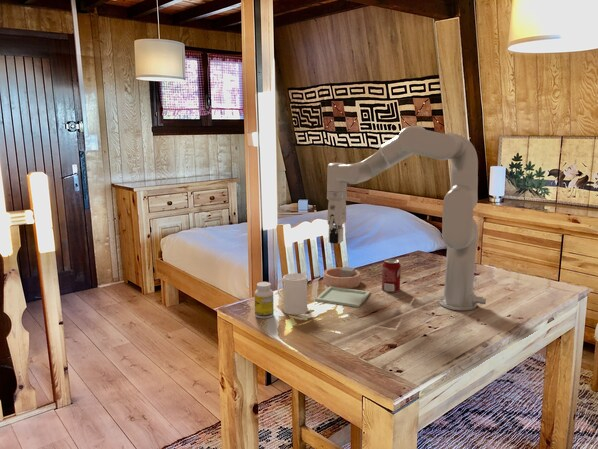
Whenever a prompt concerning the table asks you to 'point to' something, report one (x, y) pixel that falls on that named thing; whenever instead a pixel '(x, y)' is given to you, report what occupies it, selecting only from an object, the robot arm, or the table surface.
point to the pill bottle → (264, 300)
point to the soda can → (391, 275)
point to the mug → (294, 293)
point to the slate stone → (347, 272)
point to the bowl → (340, 278)
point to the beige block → (340, 234)
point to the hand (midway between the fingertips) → (335, 241)
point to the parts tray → (343, 296)
